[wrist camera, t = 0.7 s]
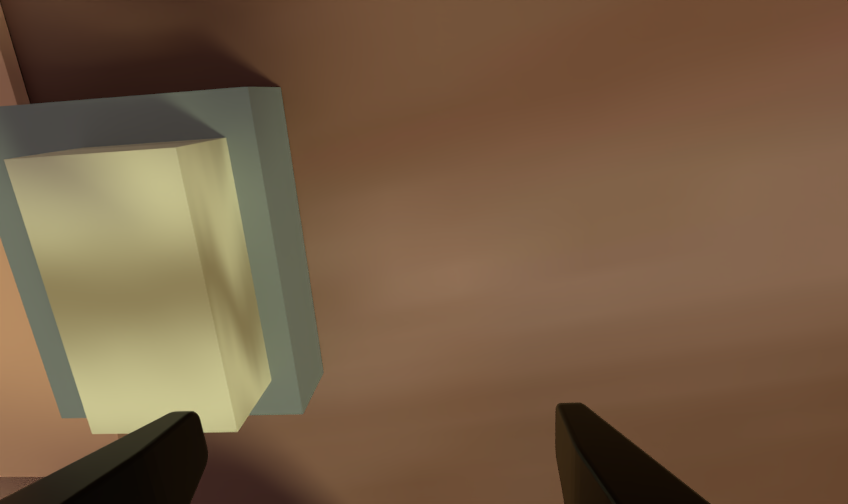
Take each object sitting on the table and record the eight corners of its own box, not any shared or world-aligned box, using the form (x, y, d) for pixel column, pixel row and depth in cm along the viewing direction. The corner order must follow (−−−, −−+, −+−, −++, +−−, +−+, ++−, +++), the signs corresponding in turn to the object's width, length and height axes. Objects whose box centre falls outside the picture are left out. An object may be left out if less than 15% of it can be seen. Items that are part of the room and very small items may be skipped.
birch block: (271, 380, 19) (237, 431, 16) (146, 383, 19) (92, 434, 17) (225, 137, 16) (175, 147, 13) (82, 147, 17) (3, 159, 14)
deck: (323, 372, 22) (302, 414, 19) (111, 377, 23) (61, 418, 20) (280, 87, 19) (247, 86, 16) (31, 107, 19) (-43, 109, 17)
